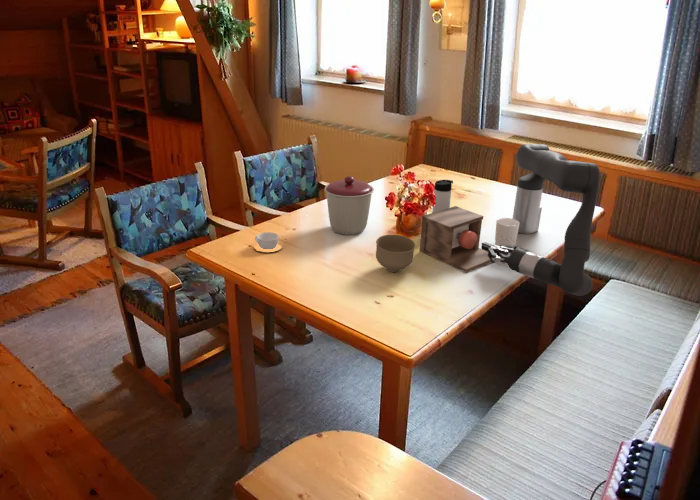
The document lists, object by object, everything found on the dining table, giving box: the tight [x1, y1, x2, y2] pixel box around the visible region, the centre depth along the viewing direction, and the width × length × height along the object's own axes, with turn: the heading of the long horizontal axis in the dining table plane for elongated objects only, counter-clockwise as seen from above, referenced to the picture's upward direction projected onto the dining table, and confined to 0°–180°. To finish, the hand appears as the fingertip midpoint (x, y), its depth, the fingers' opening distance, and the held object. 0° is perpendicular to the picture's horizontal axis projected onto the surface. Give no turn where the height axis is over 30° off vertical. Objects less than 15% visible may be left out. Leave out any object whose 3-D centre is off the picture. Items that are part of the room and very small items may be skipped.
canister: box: [324, 175, 375, 235], centre depth 216 cm, size 18×18×21 cm
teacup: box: [254, 231, 279, 249], centre depth 202 cm, size 10×10×5 cm
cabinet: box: [419, 206, 492, 273], centre depth 198 cm, size 21×17×13 cm
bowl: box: [375, 234, 416, 273], centre depth 187 cm, size 13×13×10 cm
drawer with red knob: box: [452, 224, 477, 249], centre depth 199 cm, size 12×10×8 cm
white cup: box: [494, 217, 520, 246], centre depth 205 cm, size 8×8×10 cm
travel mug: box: [431, 179, 454, 213], centre depth 217 cm, size 6×7×20 cm
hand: (483, 245), depth 191 cm, fingers closed
